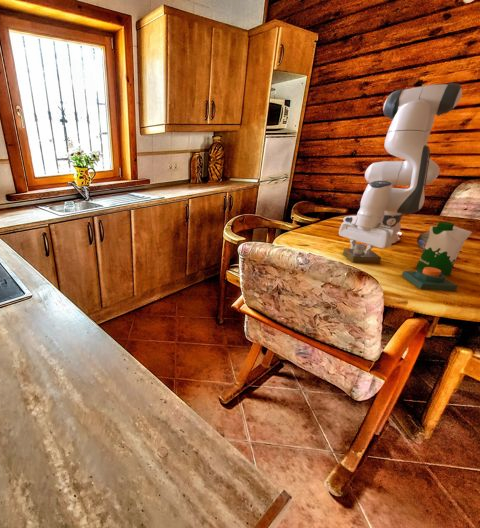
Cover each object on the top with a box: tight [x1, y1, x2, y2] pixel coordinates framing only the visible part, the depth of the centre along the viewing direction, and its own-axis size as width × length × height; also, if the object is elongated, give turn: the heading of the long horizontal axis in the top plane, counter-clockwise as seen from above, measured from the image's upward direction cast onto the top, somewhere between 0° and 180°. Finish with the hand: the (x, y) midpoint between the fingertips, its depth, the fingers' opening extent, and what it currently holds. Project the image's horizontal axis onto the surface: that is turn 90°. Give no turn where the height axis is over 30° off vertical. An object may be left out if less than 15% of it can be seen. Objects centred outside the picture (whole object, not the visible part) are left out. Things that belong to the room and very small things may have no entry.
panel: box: [342, 247, 382, 264], centre depth 125 cm, size 11×11×3 cm
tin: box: [416, 231, 430, 250], centre depth 127 cm, size 15×3×8 cm, turn 5°
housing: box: [401, 269, 458, 292], centre depth 102 cm, size 11×10×4 cm
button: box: [422, 267, 441, 277], centre depth 101 cm, size 4×4×2 cm
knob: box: [353, 243, 368, 255], centre depth 122 cm, size 4×4×4 cm
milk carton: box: [415, 221, 473, 277], centre depth 106 cm, size 9×9×20 cm
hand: (359, 251), depth 123 cm, fingers closed on knob, 4 cm apart
